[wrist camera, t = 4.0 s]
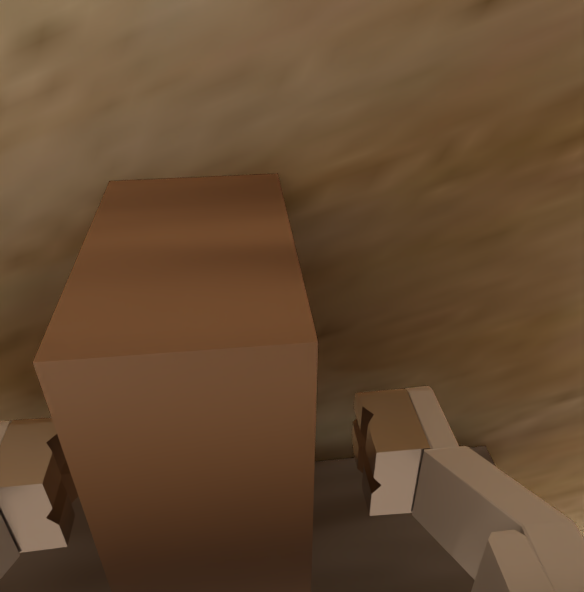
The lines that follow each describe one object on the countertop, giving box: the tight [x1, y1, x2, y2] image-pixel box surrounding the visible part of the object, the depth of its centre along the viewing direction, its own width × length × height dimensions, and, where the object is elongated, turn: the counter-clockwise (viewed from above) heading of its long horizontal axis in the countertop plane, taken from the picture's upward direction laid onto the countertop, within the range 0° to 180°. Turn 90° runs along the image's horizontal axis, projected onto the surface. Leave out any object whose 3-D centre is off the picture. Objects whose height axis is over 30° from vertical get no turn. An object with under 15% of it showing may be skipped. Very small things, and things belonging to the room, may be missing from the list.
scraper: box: [0, 174, 495, 592], centre depth 11 cm, size 9×14×5 cm, turn 90°
